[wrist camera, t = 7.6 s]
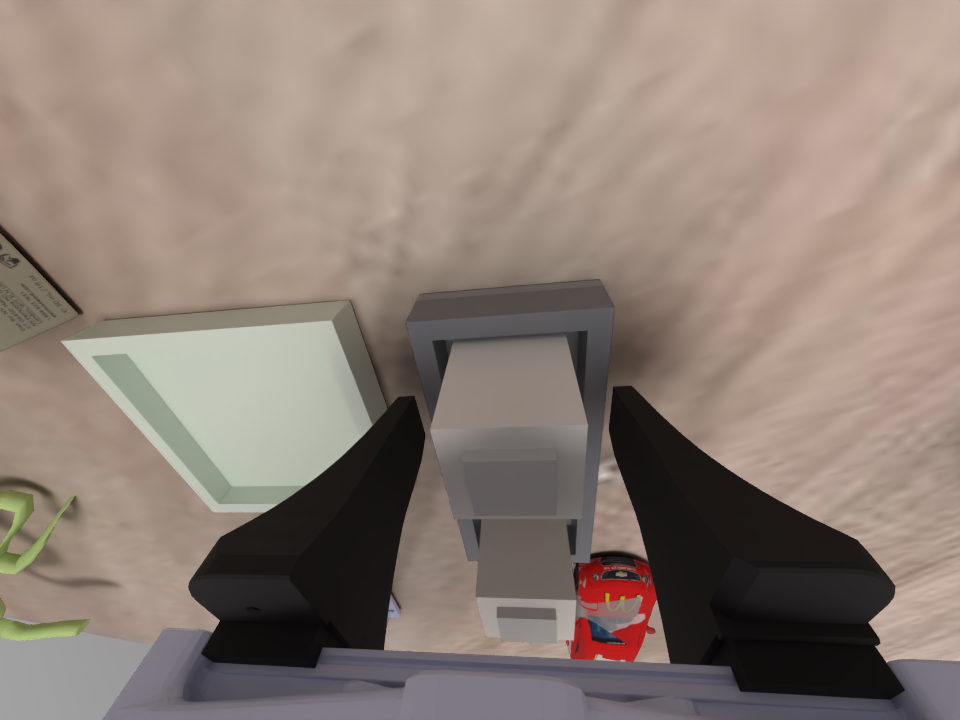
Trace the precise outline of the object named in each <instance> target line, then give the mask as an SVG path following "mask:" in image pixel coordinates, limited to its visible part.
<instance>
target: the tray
mask: <svg viewBox="0 0 960 720" xmlns="http://www.w3.org/2000/svg"><path fill="white" fill-rule="evenodd" d="M61 342H62V343H63V344H64V346H65V347H66V348H67V349H68V350H69V351H70V352H71V353H72V354H73V356H74V357H75V358H76V359H77V360H78V361H79V362H80V363H81V365H82V366H83V367H84V368H85V369H86V370H87V371H88V372H89V374H90V375H91V376H92V377H93V378H94V379H95V380H96V381H97V382H98V384H99V385H100V386H101V387H102V388H103V389H104V390H105V391H106V393H107V394H108V395H109V396H110V397H111V398H112V399H113V400H114V402H115V403H116V404H117V405H118V406H119V407H120V408H121V409H122V410H123V412H124V413H125V414H126V415H127V416H128V417H129V418H130V419H131V421H132V422H133V423H134V424H135V425H136V426H137V427H138V428H139V430H140V431H141V432H142V433H143V434H144V435H145V436H146V437H147V438H148V440H149V441H150V442H151V443H152V444H153V445H154V446H155V447H156V449H157V450H158V451H159V452H160V453H161V454H162V455H163V456H164V457H165V459H166V460H167V461H168V462H169V463H170V464H171V465H172V466H173V468H174V469H175V470H176V471H177V472H178V473H179V474H180V475H181V477H182V478H183V479H184V480H185V481H186V482H187V483H188V484H189V485H190V487H191V488H192V489H193V490H194V491H195V492H196V493H197V494H198V496H199V497H200V498H201V499H202V500H203V501H204V502H205V503H206V505H207V506H208V507H209V508H210V509H211V510H212V511H213V512H266V511H268V510H270V509H271V508H273V507H275V506H276V505H278V504H279V503H281V502H282V501H284V500H285V499H287V498H288V497H290V496H291V495H293V494H294V493H296V492H297V491H298V490H300V489H301V488H303V487H304V486H305V485H307V484H308V483H309V482H311V481H312V480H314V479H315V478H316V477H318V476H319V475H320V474H321V473H323V472H324V471H325V470H326V469H327V468H329V467H330V466H331V465H332V464H334V463H335V462H336V461H337V460H338V459H339V458H340V457H341V456H343V455H344V454H345V453H346V452H347V451H348V450H349V449H350V448H351V447H352V446H353V445H354V444H355V443H356V442H357V441H358V440H359V439H360V438H361V437H362V436H363V435H364V434H365V433H366V432H367V431H368V430H369V429H370V428H371V427H372V426H373V425H374V424H375V422H376V421H377V420H378V419H379V418H380V417H381V416H382V415H383V414H384V413H385V411H386V410H387V406H386V403H385V400H384V397H383V395H382V392H381V389H380V386H379V383H378V380H377V377H376V374H375V372H374V369H373V366H372V363H371V360H370V357H369V354H368V351H367V349H366V346H365V343H364V340H363V337H362V334H361V331H360V328H359V325H358V323H357V320H356V317H355V314H354V311H353V308H352V305H351V302H350V300H346V301H334V302H322V303H310V304H298V305H286V306H274V307H262V308H250V309H238V310H225V311H213V312H201V313H189V314H177V315H165V316H153V317H141V318H129V319H117V320H105V321H100V322H98V323H96V324H94V325H92V326H90V327H88V328H86V329H84V330H82V331H80V332H78V333H76V334H74V335H72V336H70V337H68V338H66V339H64V340H62V341H61Z"/></svg>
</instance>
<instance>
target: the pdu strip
mask: <svg viewBox="0 0 960 720" xmlns="http://www.w3.org/2000/svg"><path fill="white" fill-rule="evenodd" d="M614 308H615V307H614V305H613V303H612V302H611V300H610V298H609V296H608V294H607V292H606V291H605V289H604V287H603V285H602V283H601V281H600V279H599V280H587V281H575V282H563V283H551V284H539V285H527V286H515V287H503V288H491V289H479V290H466V291H454V292H442V293H430V294H420V295H419V297H418V299H417V301H416V303H415V305H414V307H413V309H412V311H411V312H410V314H409V316H408V318H407V320H406V322H405V324H406V327H407V331H408V335H409V339H410V342H411V346H412V350H413V354H414V358H415V361H416V365H417V369H418V373H419V377H420V380H421V384H422V388H423V392H424V395H425V399H426V403H427V407H428V411H429V414H430V418H431V422H432V420H433V417H434V413H435V409H436V405H437V401H438V398H439V394H440V390H441V386H442V383H443V379H444V375H445V371H446V367H447V364H448V360H449V356H450V352H451V348H452V345H453V341H454V339H467V338H482V337H497V336H512V335H528V334H543V333H558V332H565V334H566V338H567V342H568V346H569V350H570V354H571V358H572V362H573V366H574V370H575V374H576V378H577V382H578V386H579V391H580V395H581V399H582V403H583V407H584V411H585V415H586V419H587V423H588V432H587V447H586V462H585V477H584V493H583V508H582V519H566V526H567V533H568V541H569V548H570V556H571V563H590V553H591V543H592V533H593V522H594V512H595V502H596V492H597V481H598V471H599V461H600V451H601V441H602V430H603V420H604V410H605V400H606V390H607V379H608V369H609V359H610V349H611V339H612V328H613V318H614ZM457 520H458V524H459V528H460V532H461V536H462V539H463V543H464V547H465V551H466V555H467V558H468V561H478V559H479V546H480V533H481V520H482V519H457Z"/></svg>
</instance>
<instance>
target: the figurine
mask: <svg viewBox="0 0 960 720" xmlns="http://www.w3.org/2000/svg"><path fill="white" fill-rule="evenodd" d="M74 497H75V496H73V497H72V498H70V500H69V501H68V502H67V503H66V504H65V505H64V506H63V507H62V509H61V510H60V511H59V513H58V514H57V515H56V517H55V518H54V519H53V521H52V522H51V523H50V525H49V526H48V527H47V529H46V530H45V532H44V533H43V534H42V535H41V536H40V538H39V539H38V540H37V541H36V542H35V544H34V545H33V546H31V547H30V548H29V549H28V550H27V551H25V552H24V553H23V554H22V555H19V554H14V553H9V552H7V549H8V546H9V543H10V541H11V539H12V537H13V536H14V535H15V534H16V533H17V531H18V530H19V529H20V528H21V527H22V526H23V524H24V523H25V522H26V520H27V519H28V518H29V516H30V515H31V514H32V512H33V511H34V504H33V495H31V494H26V493H22V492H17V491H12V490H9V491H5V492H0V509H4V510H8V511H13V512H16V513H15V517H14V520H13V524H12V527H11V529H10V530H9V532H8V533H7V535H6V537H5V538H4V540H3V541H2V543H1V545H0V573H9V574H18V573H19V572H21V571H22V570H23V569H25V568H26V567H27V566H29V565H30V564H31V563H32V562H33V561H34V560H35V559H36V557H37V556H38V555H39V553H40V552H41V551H42V549H43V547H44V546H45V544H46V542H47V540H48V539H49V537H50V535H51V532H52V530H53V528H54V526H55V524H56V522H57V521H58V519H59V518H60V516H61V515H62V513H63V512H64V511H65V509H66V508H67V507H68V505H69V504H70V503H71V501H72V500H73V498H74ZM5 611H6V606H5V604H4V602H3V601H2V600H1V598H0V637H3V638H7V639H11V640H14V641H24V640H31V639H41V638H48V637H61V636H76V635H78V634H80V632H82V631H83V630H84V629H85V627H86V626H87V625H88V623H89V621H90V619H83V620H68V621H59V622H52V623H41V624H36V625H28V624H24V623H21V622H18V621H12V620H9V619H6V618H3V615H4V613H5Z"/></svg>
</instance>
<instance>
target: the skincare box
mask: <svg viewBox="0 0 960 720" xmlns="http://www.w3.org/2000/svg"><path fill="white" fill-rule="evenodd" d="M77 316H78V313H77V312H76V311H75V310H74V309H73V308H72V307H71V306H70V305H69V304H68V303H67V302H66V300H65V299H64V298H63V297H62V296H61V295H60V294H59V293H58V292H57V291H56V290H55V289H54V288H53V287H52V286H51V284H50V283H49V282H47V280H46V279H45V278H44V277H43V276H42V275H41V274H40V273H39V272H38V271H37V270H36V269H35V268H34V266H33V265H31V264H30V263H29V262H28V261H27V260H26V259H25V258H24V257H23V256H22V255H21V254H20V253H19V252H18V251H17V250H16V248H15V247H14V246H13V245H12V244H11V243H10V242H9V241H7V240H6V239H5V237H4V236H2V235H1V234H0V352H1V351H3V350H5V349H8V348H10V347H12V346H14V345H17V344H19V343H21V342H23V341H25V340H28V339H30V338H32V337H34V336H36V335H38V334H40V333H43V332H45V331H47V330H49V329H51V328H54V327H56V326H58V325H60V324H63V323H65V322H67V321H69V320H72V319H74V318H76V317H77Z"/></svg>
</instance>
